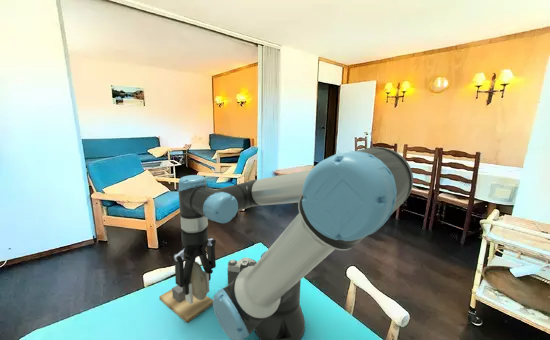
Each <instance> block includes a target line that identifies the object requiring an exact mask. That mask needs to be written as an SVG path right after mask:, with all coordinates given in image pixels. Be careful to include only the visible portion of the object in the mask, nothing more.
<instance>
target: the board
mask: <svg viewBox="0 0 550 340" xmlns="http://www.w3.org/2000/svg"><path fill="white" fill-rule="evenodd" d="M159 300H160V301H161V302H162V304H164V305H166V306H167V308H169V309H170V310H171V311H173V313H175V314H176V315H177V316H179V318H180V319H182V320H183V321H184V322H185V323H186V324H188V323H190V322H191V321H192V320H193V319H196V317H198V316H199V315H200V314H202V313H203V312H205V311H206V310H207V309H209V308H210V307H211V306H213V298H211V297H209V296H208V295H206V297H205V299H203V300H198V299H197V298H195V296H194V295H193V303H192V304H190V303H189V302H187V301H186V299H185V300H183V301H182V302H180V303H179V302H178V301H177V300H175V299H174V298H173V294H172V288H171V289H169V290H168V291H166V292H164V293H162V294H161V295H159Z"/></svg>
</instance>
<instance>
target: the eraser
mask: <svg viewBox="0 0 550 340" xmlns="http://www.w3.org/2000/svg"><path fill="white" fill-rule="evenodd" d="M171 289H172V294H173V298H174V299H175V300H177V301H178V302H179V303H180V302H182V301H183V300H185V299H186V298H185V294H184V293H183V287H180V286H178V285H177V284H176V285H175V286H173V287H172V288H171Z"/></svg>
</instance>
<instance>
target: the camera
mask: <svg viewBox="0 0 550 340" xmlns="http://www.w3.org/2000/svg"><path fill="white" fill-rule="evenodd" d="M257 262H258V261H256V260H255V259H252V258H250V257H243V258H241V259H239V260H236V259H230V260H228V263H227V286H228V285H229V284H230V283H231V282H232V281H233V280H234V279H235V278H236V277H237V275H238V274H239V273H240V272H241V271H242V270H243V269H245V268H246V267H249V266H254V265H255V264H256V263H257Z"/></svg>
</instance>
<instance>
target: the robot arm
mask: <svg viewBox="0 0 550 340" xmlns="http://www.w3.org/2000/svg"><path fill="white" fill-rule="evenodd" d="M413 185H414V174H413V170H412V168H411V166H410V164H409V163H408V161H407V160H406V158H405V157H404V156H403V155H401V154H400V153H398V152H397V151H395V150H393V149H390V148H387V147H382V146H373V147H368V148H364V149H359V150H358V149H357V150H347V151H343V152H342V151H341V152H338V153H335V154H333V155H331V156H330V155H329V157H326V158H325V159H323V160H321V161H320V162H318V163H317V164H316V165H315V166H314V167H312V168H311V169H307V170H302V171H296V172H291V173H286V174H279V175H276V176H269V177H266V178H260V179H259V178H258V179H253V180H249V181H244V182H241V183H237V184H232V185H228V186H225V187H221V188H215V189H214V188H212V187H209V186H208V183H207V178H206V177H205V176H204V175H200V174H191V175H185V176H182V177H180V178H179V179H178V190H177V192H178V203H179V215H180V229H181V230H180V234H181V235H180V236H181V243H182V247H181V250H180V251H179V252H178V253H173V255H172V258H173V261H174V270H175V271H174V274H175V276H174V277H175V278H174V279H175V284H176V286H177V285H178V286H180V287H183V293H184V294H185V298H186V301H187V302H189V303H190V304H192V303H193V293H192V284H191V283H190V279H191V274H192V268H193V263H195V261H196V259H197V258H199V260H200V263H201V265H202V266H201V267H202V270H203V273H204V276H205V280H206V284H207V294H208V293H210V291H211V290H210V281H211V277H212V276H211V274H213V273H214V272H213V271H214V270H213V269H216V267H217V264H216V262H217V261H216V248H215V246H216V239H214V238H212V237H209V227H208V225H209V221H208V220H210V221H212V222H216V223H219V224H227V223H229V222H230V221H232V220H233V218H235V217H236V215H237V213H238V212H240V211H243V210H245V209H249V208H251V207H261V206H270V205H283V204H294V203H295V204H296V203H298V205H297V206H298V207H297V208H298V214H297V215H296V216H295V218H293V220H292V221H291V222H290V223H289V224H288V226H287V227H285V229H284V230H283V232H282V233H281V234H280V235H279V236H278V237H277V238H276V240H275V241H274V242H273V243H272V244H271V245H270V247H269V248H268V249H267V250H266V251H264V252H263V253H262V254H261V255H260V258H259V260H258V261H256V262H257V263H256V264H255V265H254V266H249V267H246V268H245V269H243V270H242V271H241V272H240V273H239V274H238V275H237V277H236V278H235V279H234V280H233V281H232V282H231V283H230V284H229V285H228V284H227V285H226V286H224V287H223V288H222V287H221V288H220V289H219V290H218V291H217V292H216V293H215V294H214V296H213V298H212V300H213V305H212V308H213V311H214V315H215V317H216V319H217V322H218V324H219V326H220V328H221V329H222V330H223V332H224V334H225V335H226V336H227V337H228V339H230V340H245V339H246V338H248V337H249V336H250V335H251V334H252V333H253V332H255V334H256V336H257V337H258V338H259V340H301V339H302V337H303V335H304V333H305V328H306V327H305V325H306V324H305V323H306V322H305V321H306V320H305V315H304V313H303V311H302V307H301V304H300V303H301V281H302V279H303V278H304V277H305V276H306V275H307V274H309V273H310V272H311V271H312V270H313V269H314V268H315V267H317V266H318V265H319V264H320V263H321V262H322V261H324V259H326V258H327V257H328V256H329V255H331V253H332V252H334V251H335V250H337V251H348V250H351V249H353V247H355V246H356V245H357V244H359V243H360V242H361V241H363V239H365V238H367V236H369V235H371V236H372V234H374V233H376V232H377V231H379V229H381V227H383V226H384V225H385V223H387V221H388V220H389V219H390V217H391V216H392V215H393V213H394V212H395V211H396V210H397V209H399V207H401V206H402V205H403V204H404V203H405V201H407V199H408V198H409V196H410V194H411V192H412V190H413Z"/></svg>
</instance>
